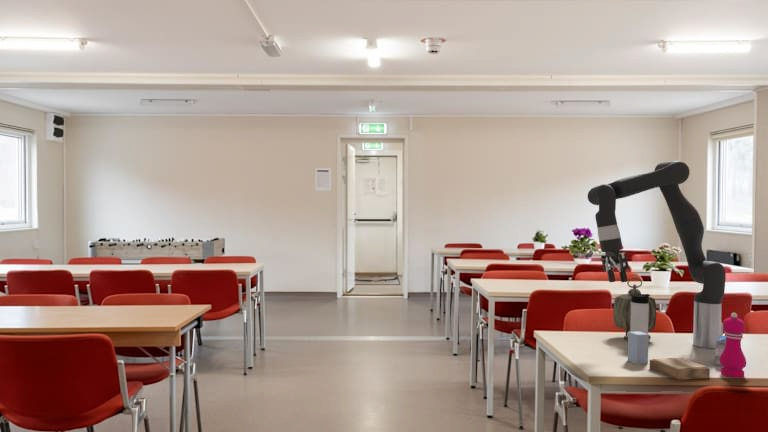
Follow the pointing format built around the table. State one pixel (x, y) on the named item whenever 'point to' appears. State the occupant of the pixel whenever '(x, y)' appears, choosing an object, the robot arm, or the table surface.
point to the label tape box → (719, 349)
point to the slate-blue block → (638, 347)
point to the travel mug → (639, 313)
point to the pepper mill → (733, 348)
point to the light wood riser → (679, 368)
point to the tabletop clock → (624, 310)
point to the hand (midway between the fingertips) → (618, 281)
